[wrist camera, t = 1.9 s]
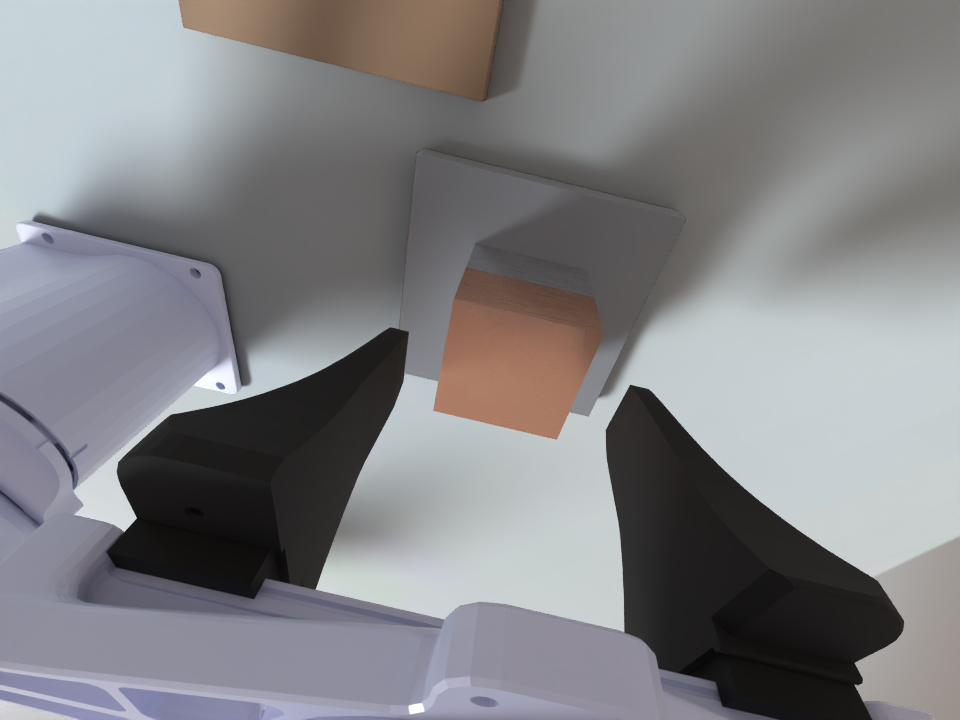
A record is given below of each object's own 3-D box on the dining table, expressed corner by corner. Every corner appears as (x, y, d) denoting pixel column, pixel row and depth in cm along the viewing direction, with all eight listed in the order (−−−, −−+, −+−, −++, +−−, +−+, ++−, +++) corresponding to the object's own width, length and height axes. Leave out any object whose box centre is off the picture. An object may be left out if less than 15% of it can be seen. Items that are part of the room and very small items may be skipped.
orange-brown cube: (456, 338, 19) (433, 410, 15) (475, 243, 16) (453, 298, 12) (552, 361, 19) (556, 439, 15) (587, 270, 16) (604, 334, 12)
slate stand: (401, 357, 21) (394, 370, 20) (424, 148, 15) (416, 153, 14) (586, 401, 21) (588, 416, 20) (676, 210, 16) (686, 219, 15)
